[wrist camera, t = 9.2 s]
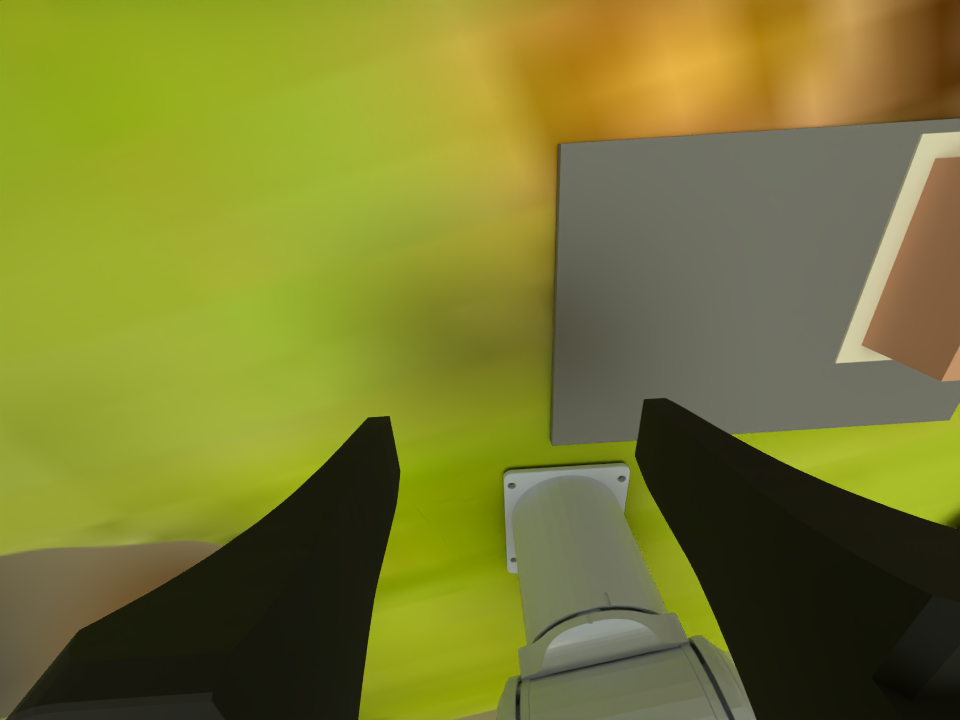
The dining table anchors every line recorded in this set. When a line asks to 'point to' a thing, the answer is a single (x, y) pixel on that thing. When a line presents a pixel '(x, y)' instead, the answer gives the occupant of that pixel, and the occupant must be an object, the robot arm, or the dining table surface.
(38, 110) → the dining table surface
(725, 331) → the mat
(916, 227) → the card box
